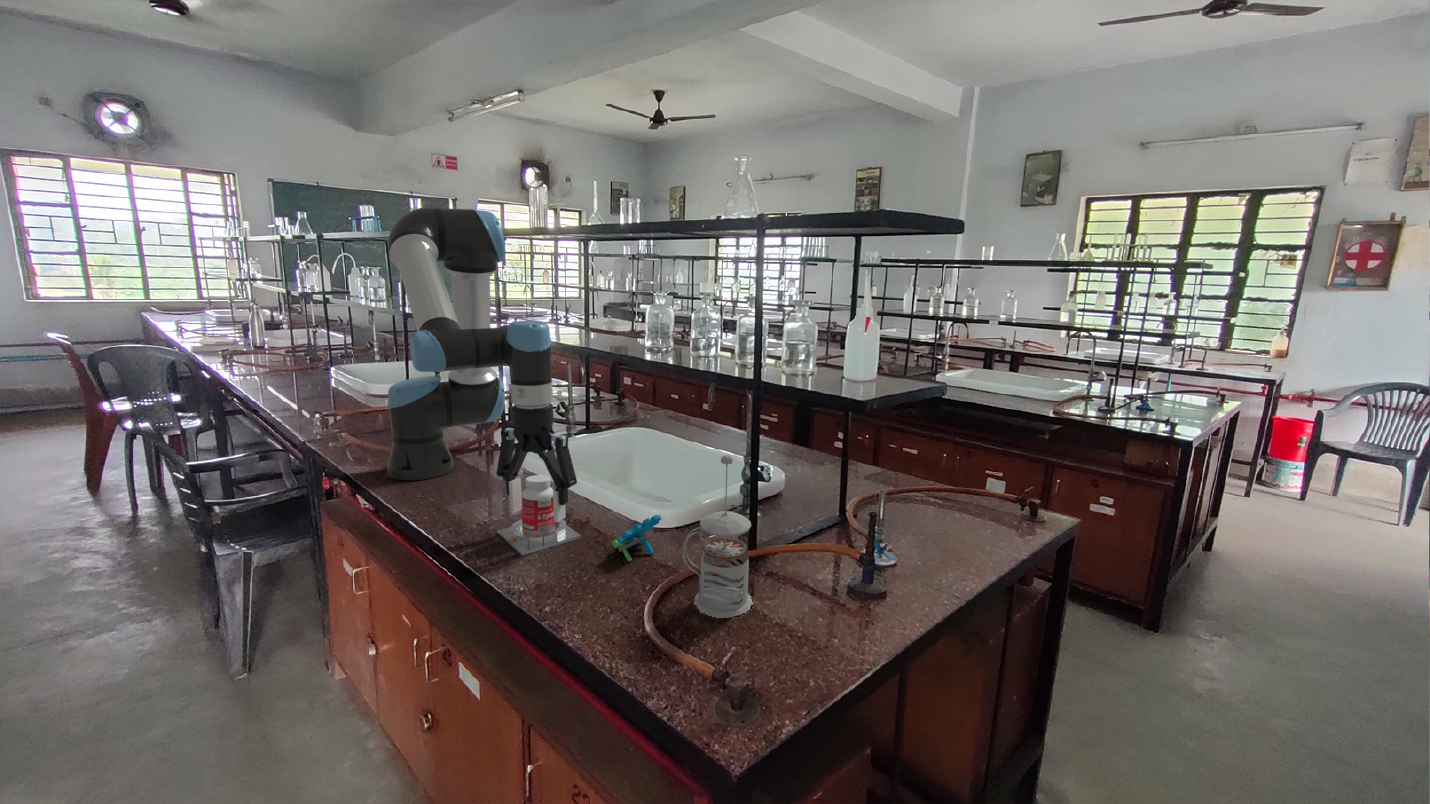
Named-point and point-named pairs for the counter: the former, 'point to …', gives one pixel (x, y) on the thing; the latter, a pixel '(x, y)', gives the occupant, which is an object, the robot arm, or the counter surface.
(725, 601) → the french press
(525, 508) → the pill bottle
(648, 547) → the blue knobbed piece
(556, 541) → the duct flange
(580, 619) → the counter surface
